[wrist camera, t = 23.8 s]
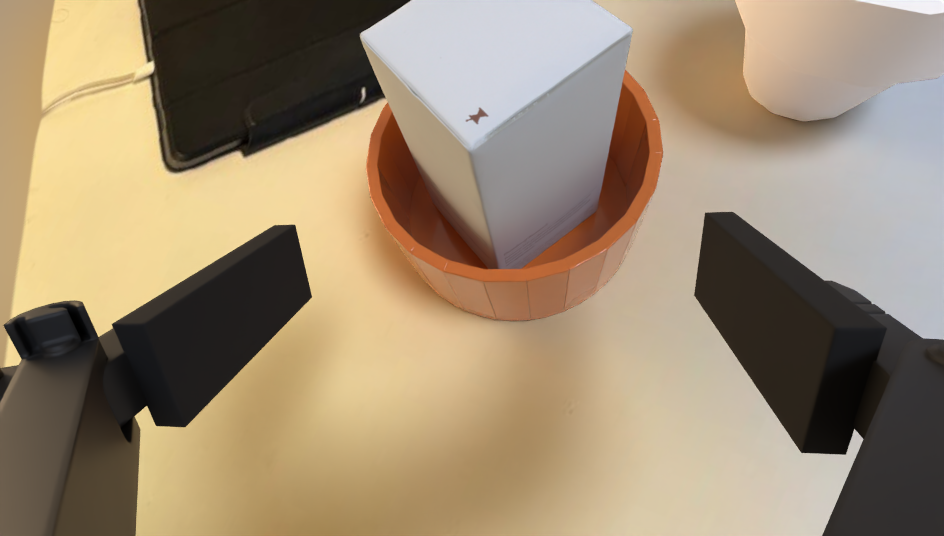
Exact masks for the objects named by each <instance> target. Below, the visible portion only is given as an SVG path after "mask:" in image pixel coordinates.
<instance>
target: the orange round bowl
mask: <svg viewBox="0 0 944 536" xmlns="http://www.w3.org/2000/svg"><path fill="white" fill-rule="evenodd" d="M662 157H663V148H662V140H661V132H660V124H659V120H658V117H657V115H656V113H655V111H654V109H653V107H652V105H651V103H650V101H649V99H648V96H647V94H646V92H645V91H644V89H643V88H642V87H641V86H640V85H639V84H638V83H637V82H636V81H635V79H634V78H633V77H632V76H631V75H630V74H629V73H628V72H627V71H626V70H625V72H624V77H623V82H622V87H621V92H620V97H619V102H618V107H617V112H616V117H615V123H614V128H613V132H612V137H611V142H610V147H609V153H608V157H607V162H606V167H605V173H604V178H603V183H602V188H601V193H600V197H599V203H598V208H597V211H596V212H595V213H594V214H592V215H591V216H590V217H588V218H587V219H586V220H585V221H583V222H582V223H581V224H579V225H578V226H577V227H575V228H574V229H573V230H572V231H570V232H569V233H568V234H566V235H565V236H564V237H562V238H561V239H560V240H558V241H557V242H556V243H555V244H553V245H552V246H550V247H549V248H548V249H546V250H545V251H544V252H543V253H541V254H540V255H539V256H537V257H536V258H535V259H533V260H532V261H531V262H529V263H528V264H527V265H525V266H524V267H523V268H521V269H488V268H487V266H486V265H485V264H484V263H483V262H482V261H481V259H480V258H479V257H478V256H477V255H476V254H475V252H474V251H473V250H472V249H471V248H470V247H469V245H468V244H467V243H466V242H465V241H464V240H463V238H462V237H461V236H460V235H459V234H458V233H457V231H456V230H455V229H454V228H453V227H452V226H451V224H450V223H449V222H448V221H447V220H446V218H445V217H444V216H443V215H442V213H441V212H440V211H439V210H438V208H437V207H436V206H435V205H434V203H433V202H432V200H431V197H430V195H429V193H428V190H427V188H426V186H425V183H424V181H423V179H422V176H421V174H420V172H419V170H418V168H417V165H416V163H415V161H414V159H413V157H412V154H411V152H410V150H409V148H408V145H407V143H406V141H405V139H404V137H403V134H402V132H401V130H400V128H399V126H398V123H397V121H396V119H395V117H394V115H393V112H392V110H391V108H390V106H389V104H388V103H387V104H386V105H385V107H384V108H383V110H382V112H381V114H380V116H379V119H378V121H377V123H376V125H375V127H374V130H373V132H372V134H371V138H370V144H369V151H368V157H367V164H366V171H367V178H368V185H369V191H370V198H371V200H372V202H373V204H374V206H375V208H376V210H377V212H378V214H379V216H380V218H381V220H382V222H383V224H384V226H385V228H386V229H387V231H388V232H389V234H390V235H391V236H392V238H393V239H394V241H395V242H396V243H397V245H398V246H399V248H400V249H401V250H402V252H403V253H404V255H405V256H406V257H407V259H408V260H409V262H410V263H411V265H412V266H413V267H414V269H415V270H416V272H417V273H418V274H419V275H420V276H421V277H422V278H423V279H424V280H425V282H426V283H427V284H428V285H429V286H430V287H431V288H432V289H433V290H434V291H435V292H436V293H437V294H438V295H440V296H441V297H442V298H444V299H445V300H447V301H448V302H450V303H451V304H453V305H455V306H457V307H459V308H461V309H463V310H465V311H467V312H470V313H473V314H476V315H479V316H482V317H487V318H492V319H497V320H509V321H519V320H533V319H538V318H543V317H548V316H551V315H554V314H557V313H561V312H564V311H566V310H568V309H570V308H572V307H574V306H576V305H578V304H580V303H582V302H583V301H585V300H586V299H588V298H589V297H591V296H592V295H594V294H595V293H596V292H597V291H598V290H599V289H601V288H602V287H603V286H604V285H605V284H606V283H607V282H608V281H609V280H610V278H611V277H612V276H613V275H614V274H615V273H616V272H617V270H618V269H619V267H620V265H621V264H622V262H623V261H624V259H625V256H626V254H627V253H628V251H629V249H630V247H631V246H632V244H633V241H634V239H635V237H636V234H637V232H638V229H639V227H640V225H641V222H642V220H643V218H644V215H645V213H646V211H647V208H648V206H649V204H650V201H651V199H652V196H653V194H654V192H655V189H656V186H657V181H658V177H659V172H660V167H661V162H662Z"/></svg>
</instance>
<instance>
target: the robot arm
mask: <svg viewBox="0 0 944 536" xmlns="http://www.w3.org/2000/svg"><path fill="white" fill-rule="evenodd" d="M694 296H695V297H696V298H697V300H698V301H699V303H700V304H701V306H702V307H703V309H704V310H705V312H706V313H707V315H708V316H709V318H710V319H711V321H712V322H713V323H714V325H715V326H716V328H717V329H718V331H719V332H720V334H721V335H722V337H723V338H724V340H725V341H726V343H727V344H728V346H729V347H730V348H731V350H732V351H733V353H734V354H735V356H736V357H737V359H738V360H739V362H740V363H741V365H742V366H743V368H744V369H745V371H746V372H747V373H748V375H749V376H750V378H751V379H752V381H753V382H754V384H755V385H756V387H757V388H758V390H759V391H760V393H761V394H762V396H763V397H764V398H765V400H766V401H767V403H768V404H769V406H770V407H771V409H772V410H773V412H774V413H775V415H776V416H777V418H778V419H779V421H780V422H781V424H782V425H783V426H784V428H785V429H786V431H787V432H788V434H789V435H790V437H791V438H792V440H793V441H794V443H795V444H796V446H797V447H798V449H799V450H800V451H801V453H820V454H844V455H846V452H847V449H848V446H849V443H850V440H851V437H852V434H853V431H854V429H855V430H856V431H857V432H858V433H859V434H860V435H861V437H862V438H863V439H864V440H863V442H862V445H861V447H860V449H859V452H858V454H857V456H856V459H855V461H854V463H853V465H852V468H851V470H850V472H849V475H848V477H847V479H846V482H845V484H844V486H843V489H842V491H841V493H840V496H839V498H838V500H837V503H836V505H835V507H834V510H833V512H832V514H831V517H830V519H829V521H828V524H827V526H826V528H825V530H824V533H823V535H822V536H944V340H939V339H923V338H921V337H920V336H919V335H917V334H916V333H914V332H913V331H911V330H910V329H909V328H907V327H906V326H904V325H903V324H902V323H900V322H899V321H897V320H896V319H895V318H893V317H892V316H890V315H889V314H885V311H883V310H882V309H881V308H879V307H878V306H876V305H875V304H871V301H869V300H868V299H866V298H865V297H864V296H862V295H861V294H859V293H858V292H857V291H855V290H853V289H850V288H848V287H845V286H843V285H841V284H838V283H836V282H833V281H824V280H823V279H821V278H820V277H819V276H817V275H816V274H815V273H813V272H812V271H811V270H809V269H808V268H807V267H805V266H804V265H803V264H801V263H800V262H799V261H797V260H796V259H795V258H793V257H792V256H791V255H789V254H788V253H787V252H785V251H784V250H783V249H781V248H780V247H779V246H777V245H776V244H775V243H773V242H772V241H771V240H769V239H768V238H767V237H765V236H764V235H763V234H761V233H760V232H759V231H757V230H756V229H755V228H753V227H752V226H751V225H750V224H748V223H747V222H746V221H744V220H743V219H742V218H740V217H739V216H738V215H736V214H735V213H734V212H714V213H705V219H704V226H703V234H702V241H701V249H700V257H699V264H698V272H697V279H696V287H695V294H694ZM311 298H312V295H311V291H310V287H309V282H308V278H307V274H306V269H305V265H304V261H303V257H302V252H301V248H300V244H299V239H298V235H297V231H296V226H295V225H274V226H273V227H271V228H269V229H268V230H266V231H264V232H263V233H261V234H259V235H258V236H256V237H254V238H253V239H251V240H250V241H248V242H246V243H245V244H243V245H241V246H240V247H238V248H236V249H235V250H233V251H231V252H230V253H228V254H227V255H225V256H223V257H222V258H220V259H218V260H217V261H215V262H213V263H212V264H210V265H208V266H207V267H205V268H203V269H202V270H200V271H199V272H197V273H195V274H194V275H192V276H190V277H189V278H187V279H185V280H184V281H182V282H180V283H179V284H177V285H176V286H174V287H172V288H171V289H169V290H167V291H166V292H164V293H162V294H161V295H159V296H157V297H156V298H154V299H152V300H151V301H149V302H148V303H146V304H144V305H143V306H141V307H139V308H138V309H136V310H134V311H133V312H131V313H129V314H128V315H126V316H125V317H123V318H121V319H120V320H118V321H116V322H115V323H113V324H112V326H113V329H111V330H110V331H108V332H106V333H105V334H103V335H102V336H100V337H98V335H97V333H96V331H95V329H94V326H93V324H92V322H91V320H90V318H89V315H88V313H87V311H86V309H85V307H84V304H83V302H80V301H63V302H58V303H52V304H48V305H45V306H41V307H38V308H35V309H32V310H30V311H27V312H24V313H22V314H20V315H18V316H16V317H14V318H12V319H10V320H9V321H8V322H7V323H6V324H4V327H5V329H6V331H7V333H8V335H9V336H10V338H11V340H12V342H13V344H14V346H15V348H16V349H17V351H18V353H19V355H20V357H21V359H22V360H21V362H20V364H19V365H17V366H11V367H5V368H0V536H135V533H136V512H137V491H138V469H139V448H140V428H139V425H138V423H137V421H136V419H135V417H134V416H135V415H136V414H137V413H139V412H140V411H141V410H142V409H143V408H144V407H145V406H148V408H149V411H150V413H151V415H152V418H153V420H154V422H155V425H156V426H170V427H186V426H187V425H188V424H189V423H190V422H191V421H192V420H193V419H194V418H195V417H196V416H197V415H198V414H199V412H200V411H201V410H202V409H203V408H204V407H205V406H206V405H207V404H208V403H209V402H210V401H211V400H212V399H213V398H214V397H215V396H216V395H217V394H218V393H219V392H220V391H221V390H222V389H223V388H224V387H225V386H226V385H227V384H228V383H229V382H230V381H231V380H232V379H233V378H234V377H235V376H236V375H237V374H238V372H239V371H240V370H241V369H242V368H243V367H244V366H245V365H246V364H247V363H248V362H249V361H250V360H251V359H252V358H253V357H254V356H255V355H256V354H257V353H258V352H259V351H260V350H261V349H262V348H263V347H264V346H265V345H266V344H267V343H268V342H269V341H270V340H271V339H272V338H273V337H274V336H275V335H276V333H277V332H278V331H279V330H280V329H281V328H282V327H283V326H284V325H285V324H286V323H287V322H288V321H289V320H290V319H291V318H292V317H293V316H294V315H295V314H296V313H297V312H298V311H299V310H300V309H301V308H302V307H303V306H304V305H305V304H306V303H307V302H308V301H309V300H310V299H311Z"/></svg>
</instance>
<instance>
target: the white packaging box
mask: <svg viewBox="0 0 944 536" xmlns="http://www.w3.org/2000/svg"><path fill="white" fill-rule="evenodd" d="M632 32H633V29H632V28H631V27H630V26H629V25H627V24H626V23H624V22H623V21H621V20H620V19H619V18H617V17H616V16H614V15H612V14H611V13H610V12H608V11H607V10H605V9H604V8H603V7H601V6H600V5H598V4H597V3H595V2H594V1H592V0H412V1H410V2H409V3H407V4H406V5H404V6H403V7H401V8H400V9H398V10H397V11H395V12H394V13H392V14H391V15H389V16H388V17H386V18H384V19H383V20H381V21H380V22H378V23H377V24H375V25H373V26H372V27H370V28H369V29H367V30H365V31H364V32H362V33H361V34H360V39H361V41H362V44H363V46H364V48H365V51H366V53H367V56H368V58H369V61H370V63H371V65H372V68H373V70H374V72H375V75H376V77H377V79H378V81H379V84H380V86H381V88H382V90H383V93H384V95H385V97H386V99H387V101H388V104H389V106H390V108H391V110H392V112H393V115H394V117H395V119H396V121H397V123H398V126H399V128H400V130H401V132H402V134H403V137H404V139H405V141H406V143H407V145H408V148H409V150H410V152H411V154H412V157H413V159H414V161H415V163H416V165H417V168H418V170H419V172H420V174H421V176H422V179H423V181H424V183H425V186H426V188H427V190H428V193H429V195H430V197H431V200H432V202H433V203H434V205H435V206H436V207H437V208H438V210H439V211H440V212H441V213H442V215H443V216H444V217H445V218H446V220H447V221H448V222H449V223H450V224H451V226H452V227H453V228H454V229H455V230H456V231H457V233H458V234H459V235H460V236H461V237H462V238H463V240H464V241H465V242H466V243H467V244H468V245H469V247H470V248H471V249H472V250H473V251H474V252H475V254H476V255H477V256H478V257H479V258H480V259H481V261H482V262H483V263H484V264H485V265H486V266H487V268H488V269H521V268H523V267H524V266H525V265H527V264H528V263H529V262H531V261H532V260H533V259H535V258H536V257H537V256H539V255H540V254H541V253H543V252H544V251H545V250H546V249H548V248H549V247H550V246H552V245H553V244H555V243H556V242H557V241H558V240H560V239H561V238H562V237H564V236H565V235H566V234H568V233H569V232H570V231H572V230H573V229H574V228H575V227H577V226H578V225H579V224H581V223H582V222H583V221H585V220H586V219H587V218H588V217H590V216H591V215H592V214H594V213H595V212H596V211H597V208H598V203H599V197H600V193H601V188H602V183H603V178H604V173H605V167H606V162H607V157H608V153H609V147H610V142H611V137H612V132H613V128H614V123H615V117H616V112H617V107H618V102H619V97H620V92H621V87H622V82H623V77H624V72H625V67H626V62H627V56H628V52H629V47H630V42H631V37H632Z"/></svg>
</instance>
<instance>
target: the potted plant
mask: <svg viewBox="0 0 944 536" xmlns="http://www.w3.org/2000/svg"><path fill="white" fill-rule="evenodd" d="M735 2H736V4H737V7H738V10H739V12H740V15H741V18H742V21H743V23H744V26H745V29H746V33H745V49H744V66H743V76H744V79H745V82H746V85H747V88H748V90H749V93H750V96H751V97H752V98H754V99H755V100H756V101H757V102H759V103H760V104H761V105H762V106H764V107H765V108H766V109H767V110H769V111H770V112H771V113H773V114H777V115H780V116H784V117H788V118H792V119H796V120H799V121H803V122H804V121H812V120H820V119H828V118H835V117H837V116H839V115H840V114H842V113H844V112H846V111H848V110H850V109H851V108H853V107H855V106H857V105H859V104H860V103H862V102H864V101H866V100H868V99H870V98H871V97H873V96H875V95H877V94H879V93H880V92H882V91H884V90H886V89H888V88H890V87H891V86H893V85H895V84H898V83H906V82H913V81H921V80H929V79H936V78H938V77H940V76H941V75H943V74H944V0H735Z"/></svg>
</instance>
